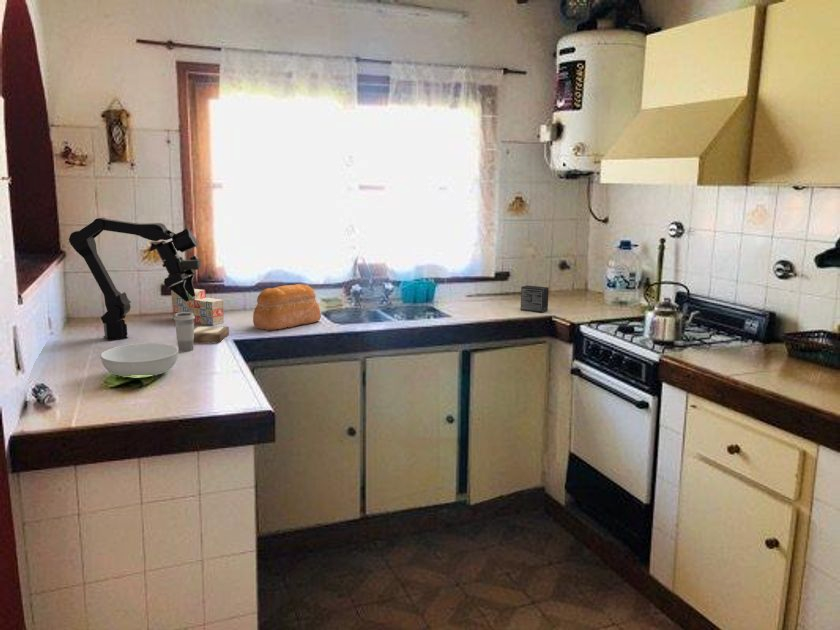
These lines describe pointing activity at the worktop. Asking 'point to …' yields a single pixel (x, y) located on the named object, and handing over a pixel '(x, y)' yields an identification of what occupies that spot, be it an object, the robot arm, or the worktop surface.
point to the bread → (286, 307)
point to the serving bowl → (140, 359)
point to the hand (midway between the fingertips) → (190, 298)
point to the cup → (184, 330)
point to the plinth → (210, 334)
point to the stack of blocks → (199, 307)
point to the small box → (534, 298)
